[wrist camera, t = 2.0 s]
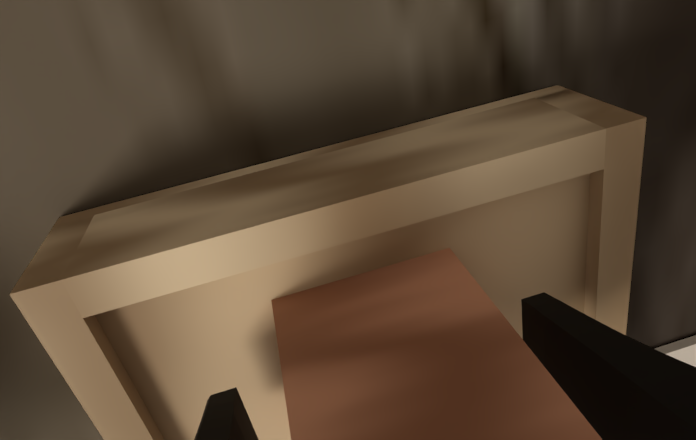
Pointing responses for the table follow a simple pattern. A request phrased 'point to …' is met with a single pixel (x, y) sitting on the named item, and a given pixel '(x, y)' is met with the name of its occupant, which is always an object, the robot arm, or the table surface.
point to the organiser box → (329, 251)
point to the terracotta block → (414, 361)
